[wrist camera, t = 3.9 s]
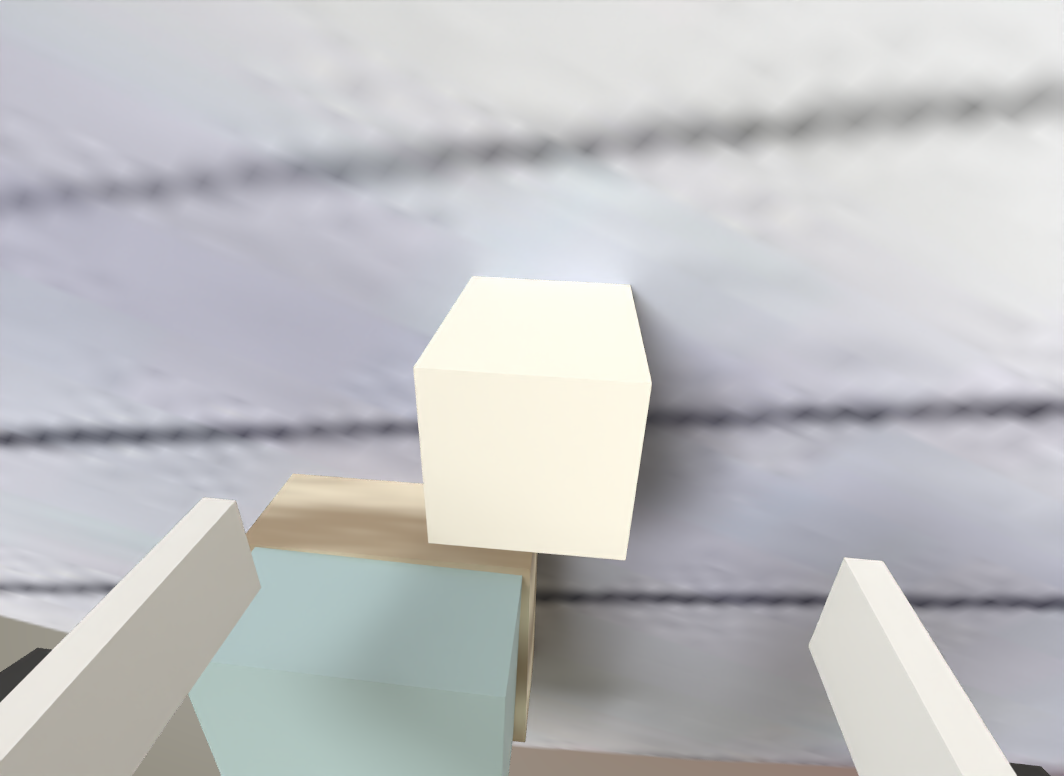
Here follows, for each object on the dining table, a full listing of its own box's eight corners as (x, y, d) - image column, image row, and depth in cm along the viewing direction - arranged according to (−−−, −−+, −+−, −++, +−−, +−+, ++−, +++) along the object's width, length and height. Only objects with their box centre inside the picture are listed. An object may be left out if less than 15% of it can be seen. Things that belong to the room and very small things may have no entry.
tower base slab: (296, 469, 27) (238, 543, 22) (540, 488, 26) (530, 568, 21) (333, 632, 32) (293, 716, 28) (534, 652, 31) (525, 742, 27)
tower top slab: (255, 546, 22) (173, 657, 18) (522, 575, 22) (505, 697, 17) (296, 708, 27) (241, 824, 23) (513, 734, 27) (498, 859, 22)
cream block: (472, 276, 21) (413, 367, 14) (630, 284, 20) (652, 383, 13) (476, 410, 24) (428, 542, 17) (614, 420, 23) (625, 560, 16)
